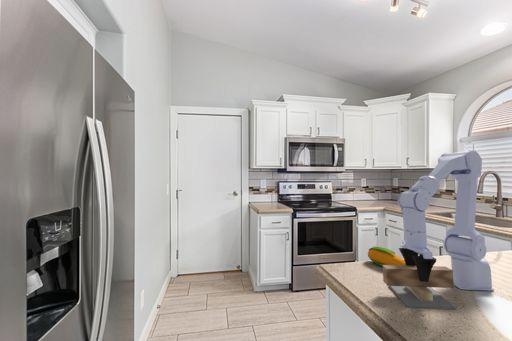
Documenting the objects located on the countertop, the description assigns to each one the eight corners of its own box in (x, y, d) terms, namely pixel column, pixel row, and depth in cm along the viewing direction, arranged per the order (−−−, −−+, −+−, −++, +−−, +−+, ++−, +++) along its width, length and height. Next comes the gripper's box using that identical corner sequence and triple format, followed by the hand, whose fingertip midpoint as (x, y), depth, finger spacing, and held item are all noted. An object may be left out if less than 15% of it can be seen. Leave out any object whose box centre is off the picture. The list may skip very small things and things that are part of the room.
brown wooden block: (446, 283, 76) (445, 266, 76) (453, 288, 72) (452, 270, 72) (383, 281, 78) (382, 264, 79) (387, 285, 75) (386, 268, 75)
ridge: (416, 289, 80) (415, 278, 80) (433, 304, 70) (432, 291, 70) (405, 289, 80) (405, 278, 80) (421, 304, 70) (420, 291, 70)
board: (428, 287, 81) (427, 285, 81) (455, 309, 67) (455, 306, 67) (388, 286, 83) (388, 283, 83) (407, 306, 69) (407, 303, 69)
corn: (375, 242, 112) (416, 253, 93) (377, 259, 112) (418, 274, 93) (362, 244, 110) (401, 257, 91) (364, 262, 110) (403, 278, 90)
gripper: (391, 226, 84) (393, 267, 83) (411, 235, 69) (414, 285, 69) (414, 226, 83) (416, 268, 82) (439, 235, 68) (442, 286, 68)
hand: (417, 276), depth 75 cm, fingers open, 7 cm apart
